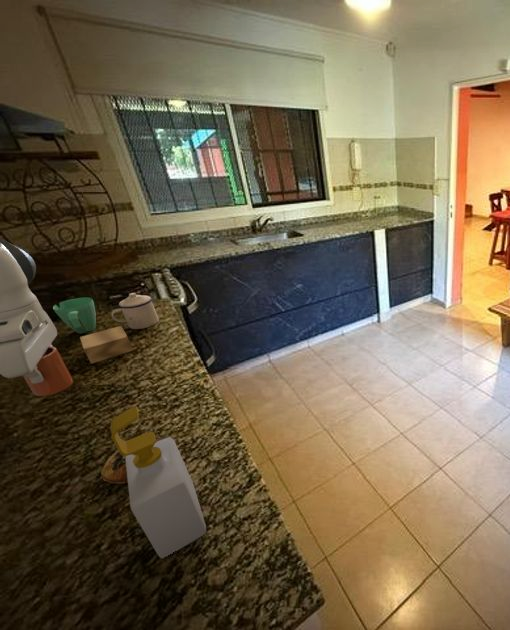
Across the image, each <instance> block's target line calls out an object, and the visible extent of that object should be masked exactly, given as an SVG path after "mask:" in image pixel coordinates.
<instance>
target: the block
mask: <svg viewBox="0 0 510 630" xmlns="http://www.w3.org/2000/svg"><path fill="white" fill-rule="evenodd" d="M79 339H80V342H81V345H82V348H83V351H84V353H85V355H86V357H87V359H88V361H89V363H90V364H95V363H98V362H101V361H105V360H108V359H110V358H114V357H117V356H120V355H124V354H127V353H130V352H133V351H134V348H133V346H132V343H131V342H130V339H129V337H128V335H127V333H126V332H125V330H124V328H123V326H122V325H119V326H115V327H111V328H108V329H104V330H101V331H96V332H93V333H89V334H85V335H82V336H80V337H79Z"/></svg>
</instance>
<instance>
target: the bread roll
mask: <svg viewBox="0 0 510 630" xmlns="http://www.w3.org/2000/svg"><path fill="white" fill-rule="evenodd" d="M155 438H156V442H158V441H161V440H163V439H164V437H161V436H159V435H156V434H155ZM125 458H126V456H122V455H121V454H120V453H119V451H118V449H117V450H116V451H115V452H114V453H113V454H112V455H111V456H110V457H109V458H108V459H107V461H106V462H105V464H104V466H103V467H102V469H101V472H100V474H101V477H102V480H103V482H108V483H110V484H115V485H119V484H120V485H121V484H122V485H123V484H128V479H127V470H126V459H125Z"/></svg>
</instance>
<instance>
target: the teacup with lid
mask: <svg viewBox="0 0 510 630" xmlns="http://www.w3.org/2000/svg"><path fill="white" fill-rule="evenodd" d="M118 307H119V308H117V309H114V310H112V311H111V315H110V316H111V318H112V320H114V321H115V322H117V323H120V324H121V323H127V325H128V326H127V327H128V328H129V329H130V330H131V329H132V330H141V329H142V330H143V329H148V328H151V327H152V326H155V325H156V324H158V323H159V321H160V318H159V316H158V314H157V311H156V308H155V306H154V303H153V299H152V297H151V296H150V295H141V294H137V293H136V292H131V293H129V294H128V296H127V297H126V298H125V299H123V300H121V301H120V302H119V303H118ZM119 312H122V314H123V317H124V318H125V319H119V318H117V317H116V316H115V314H116V313H119Z"/></svg>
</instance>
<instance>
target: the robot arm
mask: <svg viewBox="0 0 510 630" xmlns="http://www.w3.org/2000/svg"><path fill="white" fill-rule="evenodd" d="M36 272H37V265H36V262H35V260H34V259H33V257H32V256H31V255H30V254H29V253H27V252H26V251H25V250H23V249H22V248H20V247H18V246H17V245H14V244H13V243H10V242H8V241H6V240H4V239H3V238H0V375H1V376H2V377H4V378H6V379H15V378H20V377H23V376H24V375H25V376H26V377H28V378H29V379H30V381H31V382H32V383H33V384H36V383H40V382H43V380H44V379H45V376H44V374H43V372H39V371H38V370H37V368H38V367H37V364H38V362H39V361H40V359H41V358H42V356H43V355H44V353H45V352H46V350H47V349H48V347H49V346H51V347H53V345H52V343H53V342H54V340H55V339H56V337H58V330H57V327H56V326H55V324H54V323H53V321H52V319H51V318H50V316H49V315H48V313H47V312H46V311H45V310H44V309H43V306H42V305H41V302H40V301H39V299H38V298H37V296H36V295H35V294H34V293H33V292H32V291H31V289H30V288H29V285H31V283H32V282H33V280H34V279H35V276H36Z"/></svg>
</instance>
